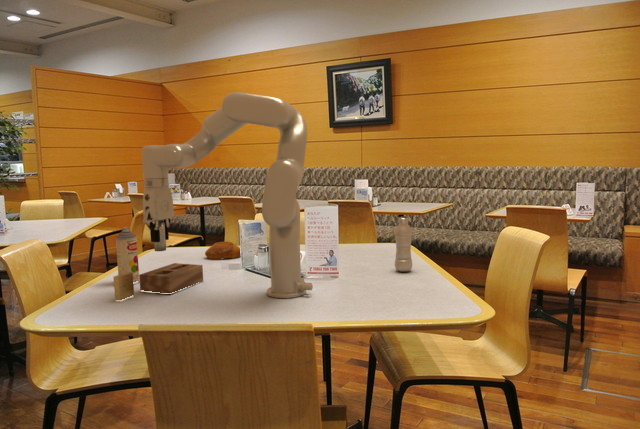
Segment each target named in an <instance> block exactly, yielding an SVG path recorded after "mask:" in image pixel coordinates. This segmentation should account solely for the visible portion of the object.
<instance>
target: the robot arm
mask: <svg viewBox="0 0 640 429" xmlns="http://www.w3.org/2000/svg"><path fill="white" fill-rule="evenodd" d="M247 124H251V125H257V126H264V127H269V128H275V129H277V130H278V131H279V136H280V137H279V140H278V146H277V153H276V155H277V156H276V160H275V161H274V162H272V163H271V164H270V166H269V168H268V169H267V172H266V176H265V182H264V189H263V198H262V205H261V215H262V219H263V220H264V222H265V223H266V225H267V226H269V265H270V285H271V286H270V287H269V288H267V289H266V295H267V296H269V297H271V298H276V299H293V298H297V297H301V296H303V295H305V294H307V291H313V289H314V288H313V284H312V282H306V281H305V277H302V266H301V238H300V237H301V234H300V232H301V230H300V229H301V225H300V224H301V207H300V204H299V202H298V200H297V199H296V198H297V190H298V187H299V186H300V185H301V183H302V182H303V178H304V166H305V157H306V149H307V141H308V127H307V122H306V120H305V117H304V116H303V114H302V113H301V112H300V111H299V110H298V109H296V108H295V107H294V106H293V105H292V104H290V103H288V102H287V101H285V100H283V99H282V98H278V97H275V96H274V97H273V96H267V95H260V94H253V93H246V92H241V91H233V92H230V93H228V94H226V96H225V97H224V98H223V100H222V103H221V107H220V108H218V109H217V110H215V111H214V112H212V113H211V114H210V115H208V116H207V117H205V118H204V120H203V121H202V124H201V129H200V130H199V131H198V132H197V133H196V134H195V135H194V136H193V137H191V138H189V139H188V140H187V141H186V142H184V143H169V144H165V145H160V144H159V145H158V144H154V145H153V144H148V145H144V146H143V147H142V148H141V158H142V159H141V160H142V175H143V187H144V188H143V194H142V213H143V214H142V215H143V220H142V223H143V224H144V225H146V226H147V228H148V230H149V232H150V242H151V243H154V242H160V231H159V230H158V220H162V222H165V237H166V241H169V239H170V236H169V235H170V234H169V228H170V223H171V221H172V220H173V218H174V216H175V208H174V199H173V195H172V190H171V187H170V186H169V183H170V182H169V170H168V168H171V169H182V168H189V167H191V166H193V165H195V164H196V163H198V162H200V161H201V160H202V159H203V158H205V157H206V156H208V155H210V154H211V152H213V151H214V150H215V149H216V148H217V147H218V146H220V144H221V143H223V141H225V140H226V139H228V138H229V137H230V136H231V135H233V134H235V132H237V131H238V130H240V129H242V128H243V127H244V126H245V125H247Z"/></svg>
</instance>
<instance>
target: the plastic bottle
mask: <svg viewBox="0 0 640 429" xmlns="http://www.w3.org/2000/svg"><path fill="white" fill-rule="evenodd" d="M397 219H398V220H397V223H398V225H397V226H396V227H395V230H394V240H395V246H396V249H395V251H396V252H395V259H394V268H395V270H396V271H397V272H400V273H401V272H402V273H404V272H405V273H407V272H411V270H412V268H413V259H412V254H411V253H412V251H411V249H412V237H413V235H412V234H413V230H412V228H411V226H410V225H409V224H408V223H409V217H407V216H398V218H397Z"/></svg>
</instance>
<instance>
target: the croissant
mask: <svg viewBox="0 0 640 429" xmlns="http://www.w3.org/2000/svg"><path fill="white" fill-rule="evenodd" d="M240 248H241V247H240V246H238V245H236V244H235V243H234V242H231V241H218V242H215V243H213V244H212V245H211V246H209V247H208V248H207V250H206V251H205V252H204V254H205V255H204V256H205V257H206V258H207V259H208V258H210V259H209V260H221V259H220V258H232V259H236V258H235V257H237V258H241V256H240Z"/></svg>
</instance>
